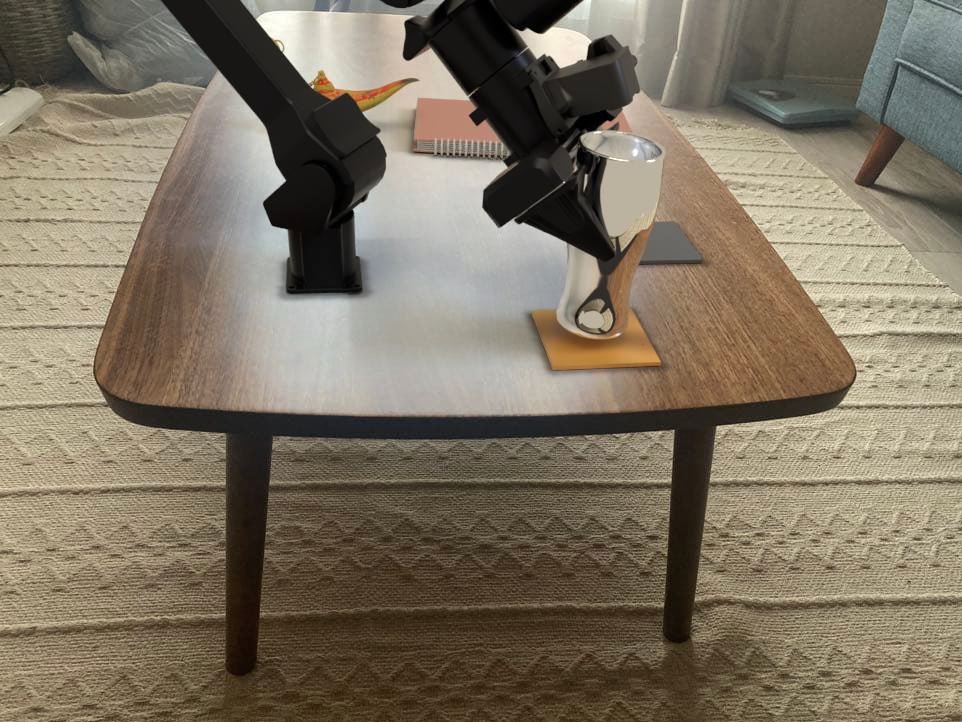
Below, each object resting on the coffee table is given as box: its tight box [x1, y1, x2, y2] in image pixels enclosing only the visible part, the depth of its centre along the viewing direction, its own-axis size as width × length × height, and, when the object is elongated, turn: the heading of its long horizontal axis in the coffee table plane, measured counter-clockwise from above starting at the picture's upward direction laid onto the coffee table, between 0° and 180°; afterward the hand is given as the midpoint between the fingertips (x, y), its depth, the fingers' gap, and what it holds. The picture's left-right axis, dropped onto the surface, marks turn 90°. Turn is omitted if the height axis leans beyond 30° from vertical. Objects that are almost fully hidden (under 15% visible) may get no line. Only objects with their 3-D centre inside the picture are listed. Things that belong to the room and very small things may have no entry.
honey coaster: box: [531, 306, 662, 371], centre depth 78 cm, size 9×9×1 cm
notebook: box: [413, 97, 633, 159], centre depth 117 cm, size 27×17×2 cm, turn 94°
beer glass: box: [556, 130, 667, 339], centre depth 73 cm, size 7×7×15 cm
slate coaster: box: [639, 221, 703, 265], centre depth 95 cm, size 9×9×1 cm
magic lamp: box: [270, 36, 421, 113], centre depth 111 cm, size 7×18×11 cm, turn 100°
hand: (621, 240), depth 73 cm, fingers closed on beer glass, 7 cm apart
